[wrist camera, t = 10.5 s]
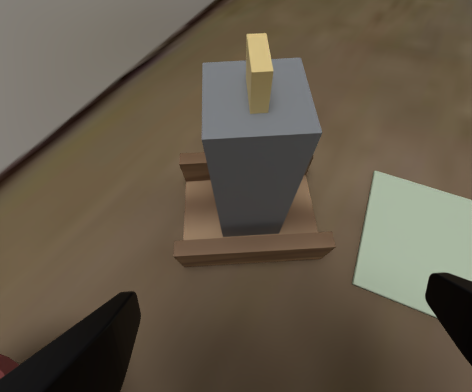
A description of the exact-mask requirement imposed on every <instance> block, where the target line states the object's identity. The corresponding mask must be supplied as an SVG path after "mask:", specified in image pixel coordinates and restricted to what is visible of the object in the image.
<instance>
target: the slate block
mask: <svg viewBox="0 0 472 392" xmlns="http://www.w3.org/2000/svg"><path fill="white" fill-rule="evenodd" d="M321 134H322V131H321V127H320V124H319V120H318V117H317V113H316V110H315V106H314V103H313V99H312V96H311V92H310V89H309V85H308V81H307V78H306V74H305V71H304V67H303V64H302V60H301V58H286V59H271V56H270V51H269V46H268V40H267V35H266V33H261V34H247V45H246V61H229V62H211V63H203V82H202V143H203V147H204V152H205V157H206V161H207V166H208V170H209V175H210V180H211V184H212V189H213V194H214V198H215V203H216V208H217V212H218V217H219V221H220V226H221V231H222V235H223V237H232V236H248V235H265V234H279V232H280V230H281V228H282V225H283V223H284V221H285V218H286V216H287V214H288V211H289V209H290V207H291V204H292V202H293V200H294V197H295V195H296V193H297V190H298V188H299V186H300V183H301V181H302V179H303V176H304V174H305V172H306V169H307V167H308V165H309V162H310V160H311V158H312V155H313V153H314V151H315V148H316V146H317V144H318V141H319V139H320V137H321Z"/></svg>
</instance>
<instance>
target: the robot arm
mask: <svg viewBox="0 0 472 392" xmlns="http://www.w3.org/2000/svg"><path fill="white" fill-rule="evenodd" d="M425 299H426V302H427V304H428V305H429V307H430V308H431V310H432V311H433V313H434V314H435V315H436V317H437V318H438V320H439V321H440V323H441V324H442V326H443V327H444V328H445V330H446V331H447V333H448V334H449V336H450V337H451V339H452V340H453V342H454V343H455V344H456V346H457V347H458V349H459V350H460V351H461V353H462V354H463V355H464V357H465V358H466V359H467V361H468V362H469V363H470V364H471V366H472V281H470V280H467V279H464V278H461V277H459V276H456V275H453V274H450V273H447V272H440V273H432V274H431V275H430V276H429V279H428V284H427V288H426V293H425ZM140 319H141V313H140V308H139V303H138V299H137V295H136V293H135V292H134V291H129V292H121V293H119V294H117V295H116V296H115V297H113V298H112V299H111V300H109V301H108V302H106V303H105V304H104V305H102V306H101V307H99V308H98V309H97V310H95V311H94V312H92V313H91V314H90V315H88V316H87V317H86V318H84V319H83V320H81V321H80V322H79V323H77V324H76V325H74V326H73V327H72V328H70V329H69V330H67V331H66V332H65V333H63V334H62V335H61V336H59V337H58V338H56V339H55V340H54V341H52V342H51V343H49V344H48V345H47V346H45V347H44V348H42V349H41V350H40V351H38V352H37V353H35V354H34V355H33V356H31V357H30V358H28V359H27V360H26V361H24V362H23V363H22V364H20V365H19V366H17V367H16V368H15V369H13V370H12V371H10V372H9V373H8V374H6V375H5V376H3V377H2V378H1V379H0V392H120V390H121V387H122V384H123V382H124V379H125V376H126V372H127V369H128V365H129V361H130V358H131V354H132V350H133V346H134V343H135V339H136V335H137V331H138V327H139V324H140Z"/></svg>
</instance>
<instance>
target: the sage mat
mask: <svg viewBox="0 0 472 392" xmlns="http://www.w3.org/2000/svg"><path fill="white" fill-rule="evenodd" d="M440 272H447V273H450V274H453V275H456V276H459V277H461V278H464V279H467V280H470V281H472V200H469V199H466V198H463V197H460V196H456V195H453V194H450V193H447V192H443V191H440V190H437V189H434V188H430V187H427V186H424V185H421V184H417V183H414V182H411V181H408V180H404V179H401V178H398V177H395V176H391V175H388V174H385V173H382V172H378V171H374V173H373V179H372V184H371V189H370V194H369V199H368V204H367V209H366V214H365V219H364V225H363V230H362V235H361V240H360V245H359V250H358V255H357V260H356V265H355V271H354V276H353V281H352V284H353V285H355V286H358V287H360V288H363V289H365V290H368V291H370V292H373V293H375V294H378V295H380V296H383V297H385V298H388V299H390V300H393V301H395V302H398V303H400V304H403V305H405V306H408V307H410V308H413V309H415V310H418V311H420V312H422V313H425V314H427V315H430V316H432V317H435V318H437V317H436V315H435V314H434V313H433V311H432V310H431V308H430V307H429V305H428V304H427V302H426V299H425V293H426V288H427V284H428V279H429V276H430V275H431V274H432V273H440ZM437 319H438V318H437Z"/></svg>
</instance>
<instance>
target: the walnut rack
mask: <svg viewBox="0 0 472 392" xmlns="http://www.w3.org/2000/svg"><path fill="white" fill-rule="evenodd" d="M312 159H313V155H312V158H311V160H310V162H309V165H308V167H307V169H306V172H305V174H304V176H303V179H302V181H301V183H300V186H299V188H298V190H297V193H296V195H295V197H294V200H293V202H292V204H291V207H290V209H289V211H288V214H287V216H286V218H285V221H284V223H283V225H282V228H281V230H280V232H279V234H265V235H248V236H232V237H223V235H222V231H221V226H220V221H219V217H218V212H217V208H216V203H215V198H214V194H213V189H212V184H211V180H210V175H209V170H208V166H207V161H206V157H205V152H198V153H180V162H179V165H180V167H181V170H182V172H183V175H184V177H185V180H186V195H185V217H184V238H183V240H178V241H174V256H173V257H174V258H175V259H177V260H178V261H179V262H180V263H181V264H182V265H183V266H184V267H191V266H208V265H225V264H242V263H259V262H276V261H293V260H310V259H321V258H323V257H324V256H325V255H326V254H328V253H329V252H330V251H331V250H333V249H334V248H335V247H336V246H335V241H334V237H333V233H332V232H318V229H317V224H316V220H315V215H314V211H313V206H312V201H311V197H310V192H309V188H308V183H307V179H306V173H307V171H308V168H309V166H310V164H311V162H312Z"/></svg>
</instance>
